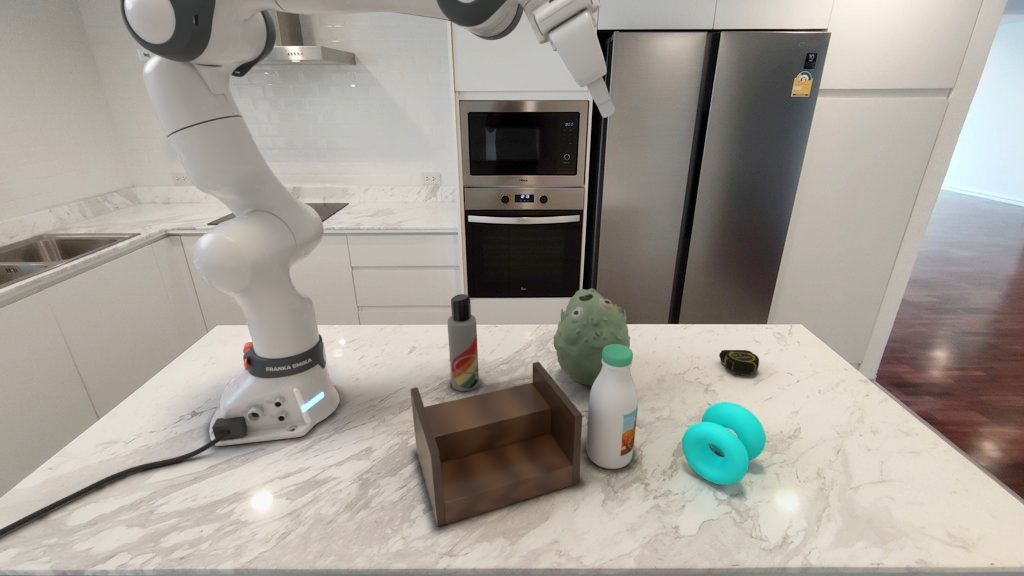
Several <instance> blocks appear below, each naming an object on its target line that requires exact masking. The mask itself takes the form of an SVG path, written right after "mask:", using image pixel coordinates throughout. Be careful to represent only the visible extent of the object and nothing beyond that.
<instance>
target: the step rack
mask: <svg viewBox="0 0 1024 576" xmlns="http://www.w3.org/2000/svg"><path fill="white" fill-rule="evenodd" d="M409 391H410V402H411V411H412V418H413V429H414V436H415V446H416V447H415V448H416V455H417V458H418V462H419V465H420V468H421V472H422V475H423V479H424V483H425V487H426V490H427V495H428V498H429V501H430V505H431V509H432V512H433V515H434V519H435V523H436V526H437V527H442V526H446V525H449V524H452V523H455V522H458V521H461V520H464V519H468V518H472V517H475V516H478V515H481V514H484V513H487V512H488V513H489V512H491V511H493V510H497V509H501V508H503V507H506V506H507V507H508V506H510V505H513V504H516V503H520V502H523V501H526V500H530V499H533V498H536V497H539V496H542V495H545V494H549V493H552V492H554V491H555V492H556V491H558V490H559V491H560V490H562V489H565V488H568V487H572V486H574V485H578V484H579V483H580V468H581V453H582V451H581V450H582V433H583V431H582V430H583V414H582V412H580V410H579V409H578V408H577V406H576V405H575V404H574V402H572V401H571V399H570V398H569V396H567V394H566V393H565V392H564V391H563V389H562V388H561V387H560V386H559V384H558V383H557V382H556V381H555V380H554V378H553V377H552V376H551V375H550V373H549V372H548V371H547V369H545V368H544V366H543V365H542V364H541V363H540V361H535V362H532V382H528V383H524V384H520V385H515V386H511V387H507V388H503V389H498V390H493V391H489V392H484V393H479V394H475V395H470V396H466V397H462V398H457V399H454V400H447V401H445V402H440V403H435V404H431V405H426V406H425V405H424V402H423V400H422V399H423V398H422V396H421V394H420V391H419V388H418V387H411V388H410V390H409Z"/></svg>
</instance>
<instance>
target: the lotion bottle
mask: <svg viewBox="0 0 1024 576" xmlns="http://www.w3.org/2000/svg"><path fill="white" fill-rule="evenodd" d="M450 308H451V316H449V317H448V318H447V337H448V349H449V350H448V351H449V353H448V354H449V365H450V379H451V381H450V382H451V385H452V388H453V389H454V390H456V391H458V392H459V391H460V392H469V391H472V390H474V389H476V388H477V387H478V386H479V382H480V381H479V380H480V377H479V374H480V373H479V353H478V351H479V350H478V330H477V319H476V316H474V315H473V314H472V306H471V297H470V296H469V295H468V294H464V293H460V294H457V295H454V296H453V297H451V299H450Z"/></svg>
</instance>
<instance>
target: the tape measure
mask: <svg viewBox="0 0 1024 576" xmlns="http://www.w3.org/2000/svg"><path fill="white" fill-rule="evenodd" d="M718 357H719V360H720V362H721V363H722V364H724V367H725V368H726V370H728V371H729V372H732V373H734V374H737V375H742V376H750V375H754V374H755V373H757V372H758V368H759V365H760V358H759V356H758V355H757V354H756V353H754V352H753V351H750V350H749V349H721V351H720V352H719V354H718Z"/></svg>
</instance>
